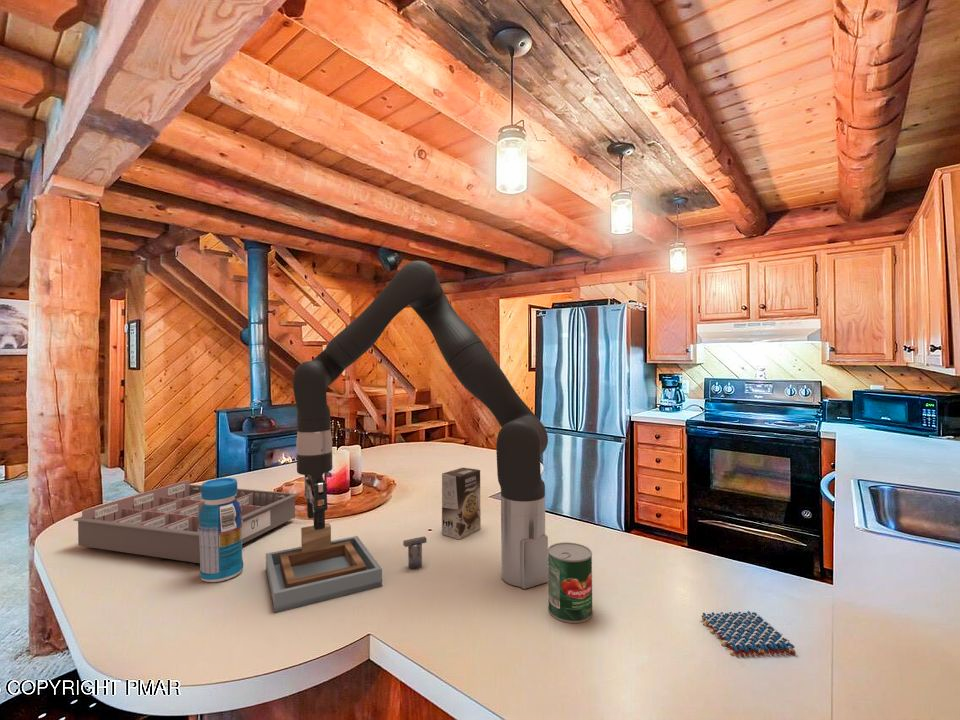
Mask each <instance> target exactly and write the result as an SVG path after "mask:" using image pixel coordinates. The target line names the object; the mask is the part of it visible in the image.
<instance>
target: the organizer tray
mask: <svg viewBox="0 0 960 720" xmlns="http://www.w3.org/2000/svg"><path fill="white" fill-rule="evenodd" d="M190 482H191V481H190V479H186V480H185V479H184V480H182V481H179V482H175V483H171V484H169V485H165V486H162V487H158V488H155V489H151V490H147V491H145V492H144V491H143V492H141V493H136V494H135V495H130V496H127V497H123V498H120V499H117V500H113V501H110V502H105V503H103V504H99V505H96V506H93V507H89V508H85V509H82V510H81V516H78V517H76V518H73V520H72V521H74V522H77V534H78V536H77V537H78V538H77V539H78V542H77V545H78V546H80V547H84V548H85V547H86V548H92V549H99V550H105V551H107V550H108V551H114V552H121V553H127V554H135V555H141V556H148V557H155V558H161V559H167V560H176V561H181V562H189V563H195V564H200V543H199V534H198V526H199V524H200V521H199V519H198V514H199V511H200V509H201V507H202V505H203V504H204V502H205V501H203V500H202V496H201V487H202V484H201V485H199V484H190ZM298 495H299V493H296V492H295V493H293V492H282V491H270V490H268V491H267V490H261V489H260V490H259V489H249V488H248V489H247V488H237V495H236V496H235V498H236V499H237V501H238V502H239V504H240V506H241V508H242V512H241V514H240V516H241V518H242V520H243V526H242V545H243V544H245V543H247V542H249V541H251V540H253V539H255V538H257V537H259V536H261V535H263V534H265V533H266V532H269V531H271V530H273V529H275V528H278V527H279V526H281V525H283V524H285V523H287V522H288V521H290V520H293V519H294V518H296V497H297V496H298Z"/></svg>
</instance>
